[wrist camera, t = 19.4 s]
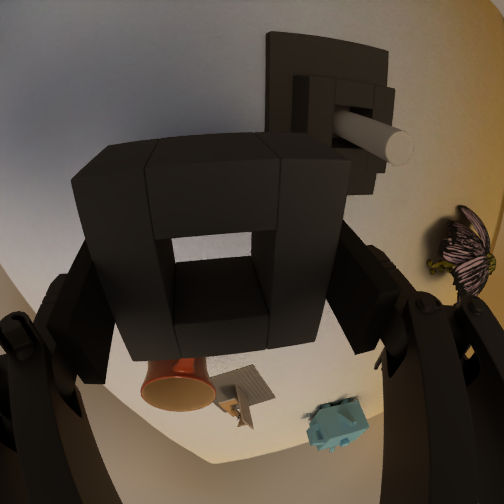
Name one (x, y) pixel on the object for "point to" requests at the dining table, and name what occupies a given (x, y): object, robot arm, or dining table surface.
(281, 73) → the base pad
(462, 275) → the decorative flower
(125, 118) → the dining table surface
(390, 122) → the dark block with hole
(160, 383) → the mug
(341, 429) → the teapot
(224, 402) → the architectural model
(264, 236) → the grey square-holed block
